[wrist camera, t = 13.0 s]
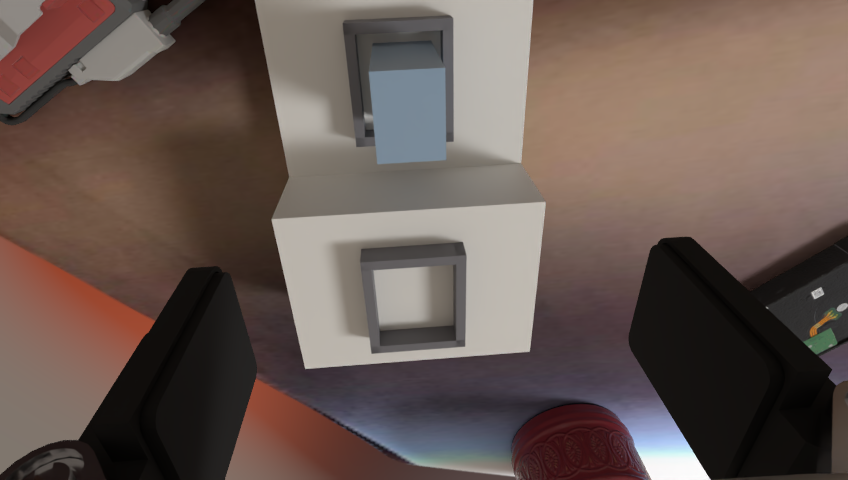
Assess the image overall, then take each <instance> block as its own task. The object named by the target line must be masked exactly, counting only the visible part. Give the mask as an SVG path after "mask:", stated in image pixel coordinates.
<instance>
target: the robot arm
mask: <svg viewBox="0 0 848 480" xmlns="http://www.w3.org/2000/svg"><path fill="white" fill-rule="evenodd" d="M629 345H630V348H631V351H632V352H633V354H634V356H635V357H636V359H637V361H638V362H639V364H640V365H641V367H642V369H643V370H644V372H645V374H646V375H647V377H648V379H649V380H650V382H651V383H652V385H653V387H654V388H655V390H656V392H657V393H658V395H659V396H660V398H661V400H662V401H663V403H664V405H665V406H666V408H667V410H668V411H669V413H670V414H671V416H672V418H673V419H674V421H675V423H676V424H677V426H678V428H679V429H680V431H681V432H682V434H683V436H684V437H685V439H686V441H687V442H688V444H689V445H690V447H691V449H692V450H693V452H694V454H695V455H696V457H697V459H698V460H699V462H700V463H701V465H702V467H703V468H704V470H705V472H706V473H707V475H708V476H709V478H710V479H711V480H848V381H843V382H842V383H840V384H838V385H837V386H836V385H835V384H834V383H833V382H832V381H831V380H830V379H829V378H828V376H829V374H830V372H831V371H832V369H831V368H830V367H829V366H828V365H827V364H826V363H825V362H824V361H823V360H822V359H821V358H819V357H818V356H817V355H816V354H815V353H814V352H813V351H812V350H811V349H810V348H809V347H808V346H807V345H806V344H805V343H803V342H802V341H801V340H800V339H799V338H798V337H797V336H796V335H795V334H794V333H793V332H792V331H791V330H790V329H789V328H788V327H786V326H785V325H784V324H783V323H782V322H781V321H780V320H779V319H778V318H777V317H776V316H775V315H774V314H773V313H772V312H770V311H769V310H768V309H767V308H766V307H765V306H764V305H763V304H762V303H761V302H760V301H759V300H758V299H757V298H756V297H754V296H753V295H752V294H751V293H750V292H749V291H748V290H747V289H746V288H745V287H744V286H743V285H742V284H741V283H740V282H739V281H737V280H736V279H735V278H734V277H733V276H732V275H731V274H730V273H729V272H728V271H727V270H726V269H725V268H724V267H723V266H721V265H720V264H719V263H718V262H717V261H716V260H715V259H714V258H713V257H712V256H711V255H710V254H709V253H708V252H707V251H706V250H704V249H703V248H702V247H701V246H700V245H699V244H698V243H697V242H696V241H695V240H694V239H692V238H691V237H675V238H663V239H661V240H660V241H659V242H658V244H657V245H654V246H653V247H652V248H651V250H650V253H649V257H648V261H647V265H646V269H645V273H644V277H643V281H642V285H641V289H640V293H639V297H638V301H637V305H636V309H635V313H634V316H633V320H632V324H631V328H630V332H629ZM256 373H257V365H256V360H255V356H254V353H253V350H252V346H251V343H250V339H249V336H248V333H247V329H246V326H245V322H244V319H243V316H242V312H241V309H240V306H239V302H238V299H237V295H236V292H235V289H234V285H233V282H232V278H231V276H230V274H229V273H227V272H224V273H222V270H221V269H220V268H219V267H217V266H214V267H198V268H190V269H188V270H187V272H186V273H185V275H184V276H183V278H182V280H181V281H180V283H179V284H178V286H177V288H176V289H175V291H174V292H173V294H172V296H171V297H170V299H169V300H168V302H167V304H166V305H165V307H164V308H163V310H162V312H161V313H160V315H159V317H158V318H157V320H156V321H155V323H154V325H153V326H152V328H151V329H150V331H149V333H147V334H146V335H145V336H144V337H143V339H142V340H141V342H140V343H139V345H138V346H137V348H136V350H135V351H134V353H133V354H132V356H131V358H130V359H129V361H128V362H127V364H126V366H125V367H124V369H123V370H122V372H121V373H120V375H119V377H118V378H117V380H116V382H115V383H114V384H113V386H112V388H111V389H110V391H109V392H108V394H107V396H106V397H105V399H104V400H103V402H102V404H101V405H100V407H99V408H98V410H97V411H96V413H95V415H94V416H93V418H92V420H91V421H90V423H89V424H88V426H87V427H86V429H85V430H84V432H83V434H82V435H81V437H80V438H79V440H63V441H59V442H55V443H50V444H47V445H45V446H43V447H41V448H38V449H36V450H34V451H31V452H30V453H28V454H27V455H25V456H23V457H22V458H20V459H19V460H17V461H15V462H14V463H13V464H12V465H11V466H10V467H8V468H7V469H6V470H5V471H4V472H3V473H2V474H0V480H225V477H226V474H227V470H228V467H229V464H230V461H231V457H232V454H233V451H234V448H235V444H236V441H237V438H238V434H239V431H240V428H241V424H242V421H243V418H244V415H245V412H246V408H247V405H248V402H249V399H250V395H251V392H252V389H253V385H254V382H255V379H256Z"/></svg>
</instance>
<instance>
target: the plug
mask: <svg viewBox="0 0 848 480" xmlns="http://www.w3.org/2000/svg"><path fill="white" fill-rule="evenodd" d="M369 79H370V90H371V101H372V112H373V123H374V134H375V145H376V156H377V164H390V163H407V162H424V161H441V160H446V90H445V66H444V64H443V63H442V61H441V59H440V57H439V55H438V53H437V51H436V49H435V47H434V45H433V44H432V42H431V40H428V41H408V42H388V43H373V44H372V51H371V59H370V66H369Z"/></svg>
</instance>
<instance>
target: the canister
mask: <svg viewBox="0 0 848 480" xmlns="http://www.w3.org/2000/svg"><path fill="white" fill-rule="evenodd" d="M511 451H512V466H513V470H514V474H515V477H516V479H517V480H651V478H650V476H649V474H648V472H647V470H646V468H645V466H644V464H643V462H642V460H641V458H640V456H639V454H638V452H637V450H636V448H635V446H634V441H633V439H632V437H631V435H630V433H629V431H628V429H627V428H626V426H625V425H624V424H623V423H622V422H621V421H620V419H619V418H618V417H617V416H616V415H615V414H614V413H613V412H611V411H610V410H608V409H606V408H603V407H600V406H596V405H589V404H572V405H565V406H560V407H557V408H553V409H550V410H548V411H545V412H543V413H541V414H539V415H537V416H536V417H534V418H532V419H531V420H530V421H528V422H527V423H526V424H525V425H524V426H523V427H522V428H521V429H520V430H519V431H518V432H517V434H516V436H515V437H514V440H513V442H512V447H511Z"/></svg>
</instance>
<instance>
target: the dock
mask: <svg viewBox="0 0 848 480" xmlns="http://www.w3.org/2000/svg"><path fill="white" fill-rule="evenodd" d="M255 4H256V9H257V15H258V20H259V25H260V30H261V35H262V40H263V45H264V51H265V56H266V61H267V66H268V71H269V76H270V81H271V86H272V92H273V97H274V102H275V107H276V112H277V117H278V122H279V127H280V133H281V138H282V143H283V148H284V153H285V158H286V163H287V169H288V174H289V179H288V181H287V184H286V186H285V188H284V191H283V193H282V196H281V198H280V200H279V203H278V205H277V207H276V210H275V212H274V214H273V217H272V219H271V220H272V224H273V228H274V233H275V237H276V242H277V246H278V250H279V255H280V259H281V264H282V268H283V272H284V277H285V281H286V286H287V290H288V294H289V299H290V303H291V308H292V312H293V317H294V321H295V325H296V330H297V334H298V339H299V343H300V347H301V352H302V356H303V361H304V365H305V369H310V368H323V367H336V366H349V365H362V364H375V363H388V362H401V361H414V360H427V359H440V358H453V357H466V356H479V355H492V354H505V353H518V352H530V344H531V335H532V326H533V317H534V307H535V298H536V289H537V280H538V270H539V261H540V252H541V243H542V233H543V224H544V215H545V206H546V201H545V200H544V198H543V197H542V195H541V193H540V192H539V190H538V189H537V187H536V186H535V184H534V183H533V181H532V180H531V178H530V176H529V175H528V173H527V172H526V170H525V169H524V167H523V166H522V164H521V158H522V144H523V131H524V118H525V104H526V91H527V78H528V64H529V51H530V38H531V24H532V11H533V0H255ZM428 40H431V42H432V44H433V45H434V47H435V49H436V51H437V53H438V55H439V57H440V59H441V61H442V63H443V64H444V66H445V90H446V160H441V161H424V162H407V163H390V164H377V156H376V145H375V134H374V123H373V112H372V101H371V90H370V79H369V66H370V59H371V51H372V44H373V43H388V42H408V41H428Z"/></svg>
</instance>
